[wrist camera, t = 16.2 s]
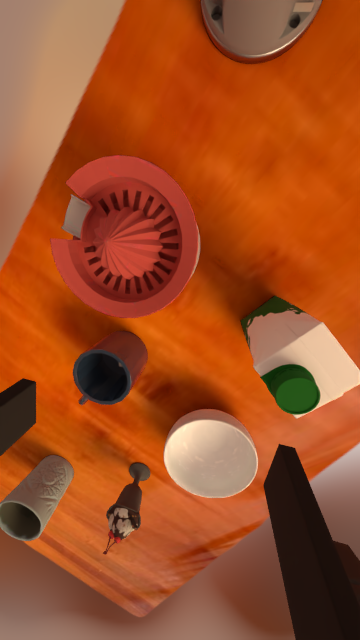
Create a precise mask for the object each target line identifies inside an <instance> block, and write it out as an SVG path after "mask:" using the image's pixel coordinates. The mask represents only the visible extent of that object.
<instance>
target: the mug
mask: <svg viewBox="0 0 360 640" xmlns="http://www.w3.org/2000/svg"><path fill="white" fill-rule="evenodd" d="M147 358H148V354H147V349H146V347H145V345H144V343H143V342H142V340H141V339H140V338H139V337H137V336H136V335H134V334H133V333H130V332H127V331H115V332H112V333H110V334H109V335H107V336H105V337H104V338H103V339H101V340H100V341H99V342H97V343H96V344H95V345H93V346H92V347H90V348H89V349H88V350H86V351H85V352H84V353H82V354H81V355H80V356H79V358H78V359H77V360H76V362H75V364H74V369H73V376H74V381H75V384H76V386H77V387H78V389H79V390H80V392H81V393H82V394H83V396H82V397H81V398H80V399H79V404H80V405H83V404H85V403H86V402H87V401H88V399H89V400H91V401H93V402H96V403H99V404H106V405H112V404H115V403H117V402H120V401H122V400H123V399H124V398H125V397H126V396H127V395H128V394H129V392H130V390H131V389H132V387H133V386H134V384H135V382H136V381H137V379H138V378H139V376H140V374H141V373H142V371H143V370H144V368H145V365H146V363H147ZM119 363H121V365H122V366H123V367H121V366H119Z"/></svg>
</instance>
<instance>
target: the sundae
mask: <svg viewBox="0 0 360 640" xmlns="http://www.w3.org/2000/svg"><path fill="white" fill-rule="evenodd" d="M129 472H130V475H131V476H132V477H133V478H134V482H133V483H131V484H129V485H126V486H125V488H124V489H123V491H122V492H121V494H120V496H119V498H118V500H117V501H116V503H115V504H114V505H112V506H111V507H110V508H109V510H108V511H107V515H106V516H107V519H108V522H109V528H110V532H109V534H108V535H109V542H110V539H113V538H114V541H115V542H116V543H119V542H120V541H121V540H122V539H124V538H126V537H127V536H128V535H129V534H130V532H132V531H133V530H137V529H138V528H139V527H140V524H141V519H140V514H139V510H140V504H141V497H142V491H141V489H140V487H139V486H138V483H139V481H144V480H147V479H148V478H149V477H150V470H149V468H148V467H147V466H146V465H144V464H141V463H135V464H132V465H131V466H130V468H129ZM109 542H108V545H109ZM115 542H114V543H115ZM114 543H113V544H114ZM113 544H112V545H113ZM108 545H107V548H108ZM112 545H111V546H112ZM111 546H110V547H111ZM110 547H109V548H110ZM109 548H108V550H109ZM108 550H107V549H106V551H107V552H108ZM106 551H104V552H103V554H107V552H106Z"/></svg>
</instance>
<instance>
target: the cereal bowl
mask: <svg viewBox="0 0 360 640" xmlns="http://www.w3.org/2000/svg"><path fill="white" fill-rule="evenodd" d="M164 463H165V466H166V469H167V471H168V473H169V475H170V476H171V477H172V479H173V480H174V481H175V482H176V483H177V484H178V485H179V486H181V487H182V488H183V489H185V490H187V491H188V492H190V493H193V494H195V495H198V496H202V497H208V498H224V497H229V496H232V495H235V494H237V493H239V492H241V491H242V490H244V489H245V488H246V487H248V486H249V484H250V483H251V482H252V481H253V479H254V477H255V475H256V472H257V467H258V457H257V452H256V448H255V445H254V442H253V439H252V438H251V435H250V434H249V432H248V431H247V429H246V428H245V426H244V425H243V424H242V423H241V422H239V420H237V419H236V418H234V417H233V416H231V415H230V414H228V413H225V412H222V411H219V410H215V409H200V410H195V411H192V412H190V413H188V414H186V415H184V416H183V417H181V418H180V419H179V420H178V421H177V422H176V423H175V424H174V425H173V426H172V428H171V430H170V432H169V434H168V436H167V439H166V443H165V447H164Z"/></svg>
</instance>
